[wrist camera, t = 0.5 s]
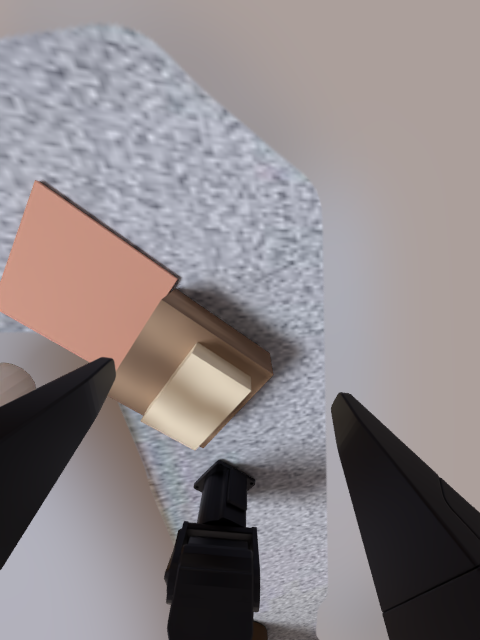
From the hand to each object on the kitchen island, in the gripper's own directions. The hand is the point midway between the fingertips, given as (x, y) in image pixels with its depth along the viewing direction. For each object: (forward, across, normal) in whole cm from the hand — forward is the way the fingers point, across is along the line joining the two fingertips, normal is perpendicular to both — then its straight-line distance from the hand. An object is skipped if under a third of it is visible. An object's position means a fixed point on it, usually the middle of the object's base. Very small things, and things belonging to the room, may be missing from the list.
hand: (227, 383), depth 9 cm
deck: (+13, +4, +11) cm, 17 cm away
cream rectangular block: (+9, +2, +11) cm, 14 cm away
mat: (+14, +15, +5) cm, 21 cm away
